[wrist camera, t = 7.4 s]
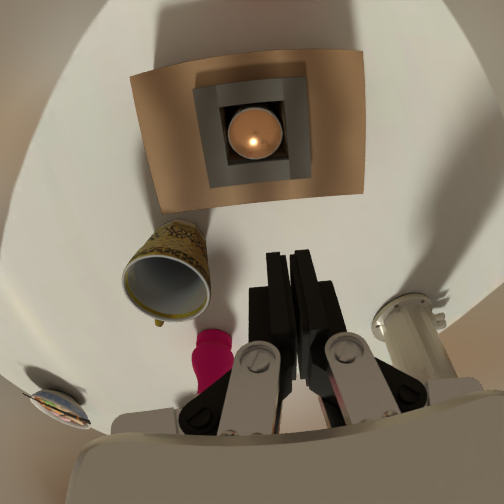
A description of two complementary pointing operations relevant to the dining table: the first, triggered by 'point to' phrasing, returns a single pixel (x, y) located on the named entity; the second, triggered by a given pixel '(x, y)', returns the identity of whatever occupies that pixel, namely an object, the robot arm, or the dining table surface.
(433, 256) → the dining table surface
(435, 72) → the dining table surface
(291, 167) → the socket block
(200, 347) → the pepper mill
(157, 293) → the ceramic cup
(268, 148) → the peg
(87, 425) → the ramen bowl
